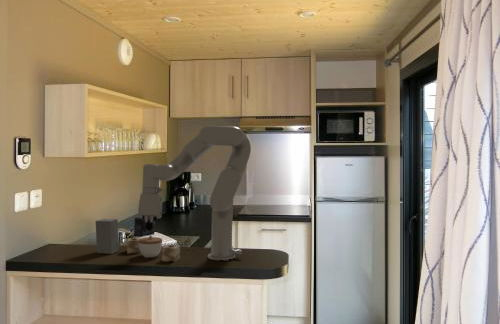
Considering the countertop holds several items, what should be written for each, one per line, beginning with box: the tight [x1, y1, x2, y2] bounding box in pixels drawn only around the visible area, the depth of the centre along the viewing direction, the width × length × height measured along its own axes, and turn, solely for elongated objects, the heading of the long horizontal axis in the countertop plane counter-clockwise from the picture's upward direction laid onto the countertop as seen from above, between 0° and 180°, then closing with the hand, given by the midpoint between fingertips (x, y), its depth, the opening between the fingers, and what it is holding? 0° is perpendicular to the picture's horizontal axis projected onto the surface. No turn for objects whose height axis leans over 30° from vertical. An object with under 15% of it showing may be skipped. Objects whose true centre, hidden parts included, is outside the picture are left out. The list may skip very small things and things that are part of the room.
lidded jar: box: [138, 235, 163, 259], centre depth 190 cm, size 11×11×9 cm
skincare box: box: [95, 218, 120, 255], centre depth 195 cm, size 8×7×16 cm
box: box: [133, 216, 156, 238], centre depth 241 cm, size 11×7×10 cm, turn 148°
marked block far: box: [126, 237, 142, 254], centre depth 198 cm, size 6×6×6 cm
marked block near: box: [161, 244, 181, 263], centre depth 183 cm, size 6×6×6 cm
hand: (149, 230), depth 190 cm, fingers closed
